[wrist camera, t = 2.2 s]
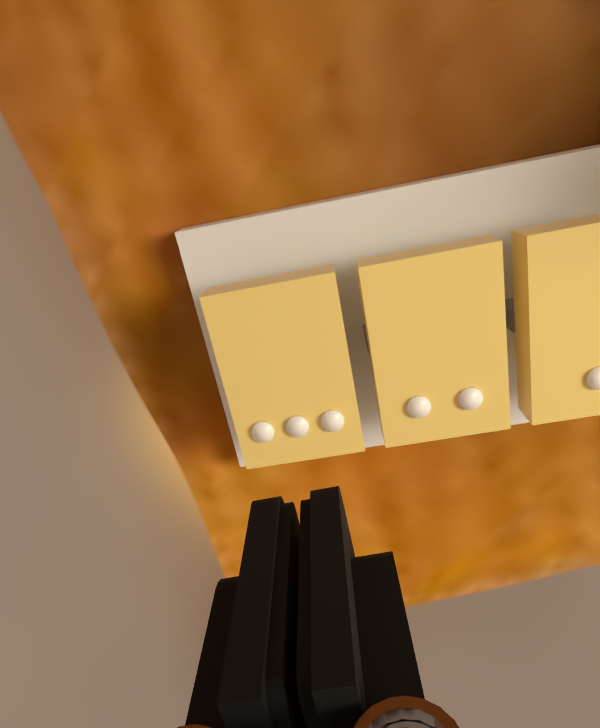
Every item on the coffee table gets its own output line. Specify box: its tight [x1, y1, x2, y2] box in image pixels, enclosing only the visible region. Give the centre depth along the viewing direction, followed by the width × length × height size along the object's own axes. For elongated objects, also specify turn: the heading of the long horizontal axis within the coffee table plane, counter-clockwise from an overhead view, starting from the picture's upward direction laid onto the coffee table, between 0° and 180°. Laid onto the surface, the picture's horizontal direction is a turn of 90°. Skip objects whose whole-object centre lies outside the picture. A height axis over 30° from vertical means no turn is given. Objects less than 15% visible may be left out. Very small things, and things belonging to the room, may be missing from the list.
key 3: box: [199, 264, 365, 469], centre depth 25 cm, size 9×6×2 cm, turn 11°
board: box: [174, 144, 600, 467], centre depth 27 cm, size 14×23×4 cm, turn 101°
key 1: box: [511, 213, 600, 425], centre depth 23 cm, size 9×6×2 cm, turn 11°
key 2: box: [355, 234, 511, 448], centre depth 24 cm, size 9×6×2 cm, turn 11°
